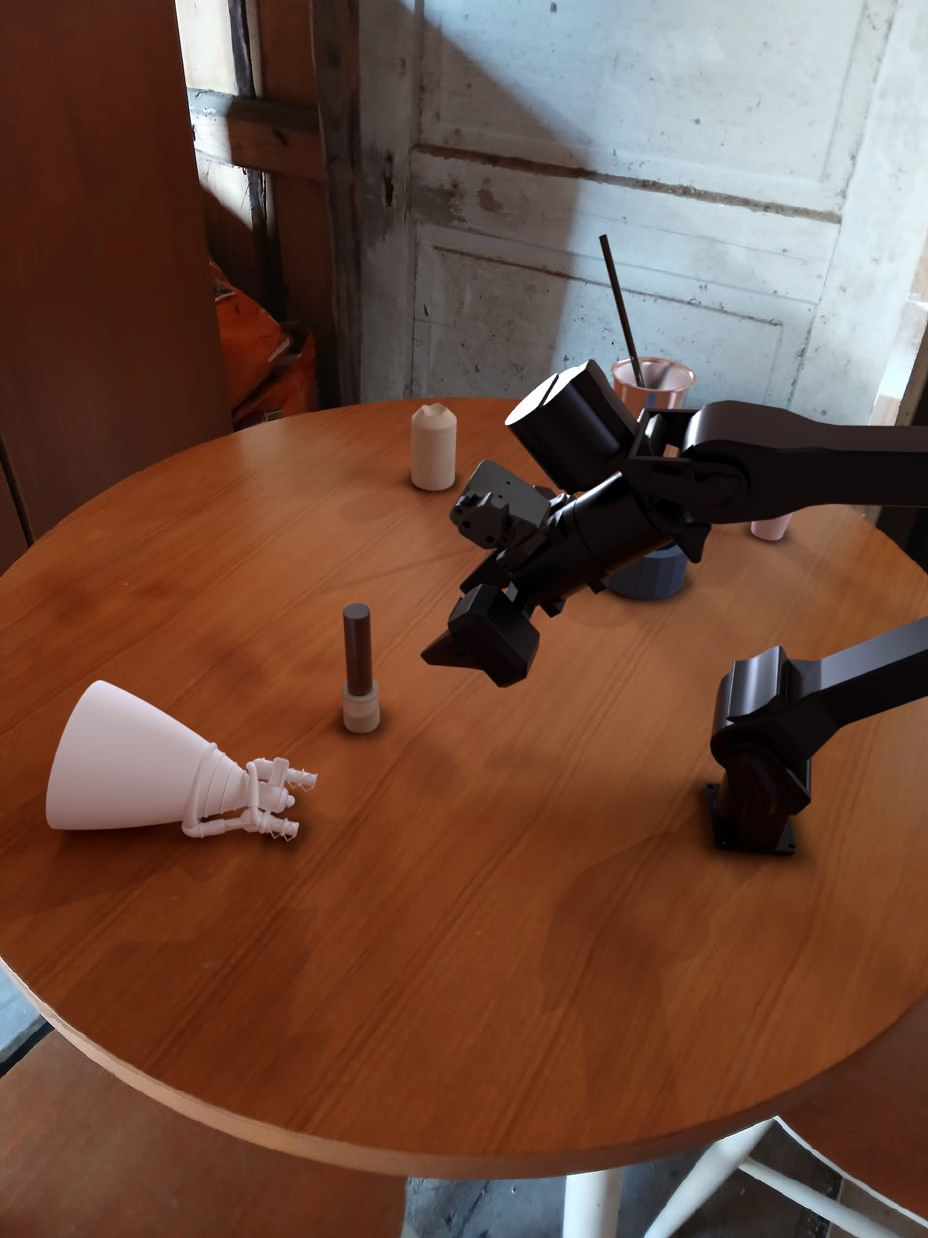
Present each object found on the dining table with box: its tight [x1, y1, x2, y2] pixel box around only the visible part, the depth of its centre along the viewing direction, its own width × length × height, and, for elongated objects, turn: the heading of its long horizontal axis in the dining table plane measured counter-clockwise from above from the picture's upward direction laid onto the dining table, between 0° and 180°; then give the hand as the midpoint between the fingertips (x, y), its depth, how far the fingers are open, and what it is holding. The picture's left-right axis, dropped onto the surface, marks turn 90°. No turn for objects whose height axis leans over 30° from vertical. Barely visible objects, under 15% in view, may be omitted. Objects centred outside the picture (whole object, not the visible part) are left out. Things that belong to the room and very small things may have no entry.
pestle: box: [341, 602, 381, 734], centre depth 77 cm, size 3×3×12 cm
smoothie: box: [750, 512, 794, 541], centre depth 104 cm, size 6×6×14 cm
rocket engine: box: [45, 679, 318, 842], centre depth 70 cm, size 12×12×18 cm
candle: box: [411, 402, 458, 492], centre depth 112 cm, size 6×6×10 cm
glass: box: [598, 233, 697, 479], centre depth 107 cm, size 11×11×30 cm
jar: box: [607, 541, 689, 601], centre depth 99 cm, size 9×9×6 cm
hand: (444, 623), depth 71 cm, fingers open, 9 cm apart
